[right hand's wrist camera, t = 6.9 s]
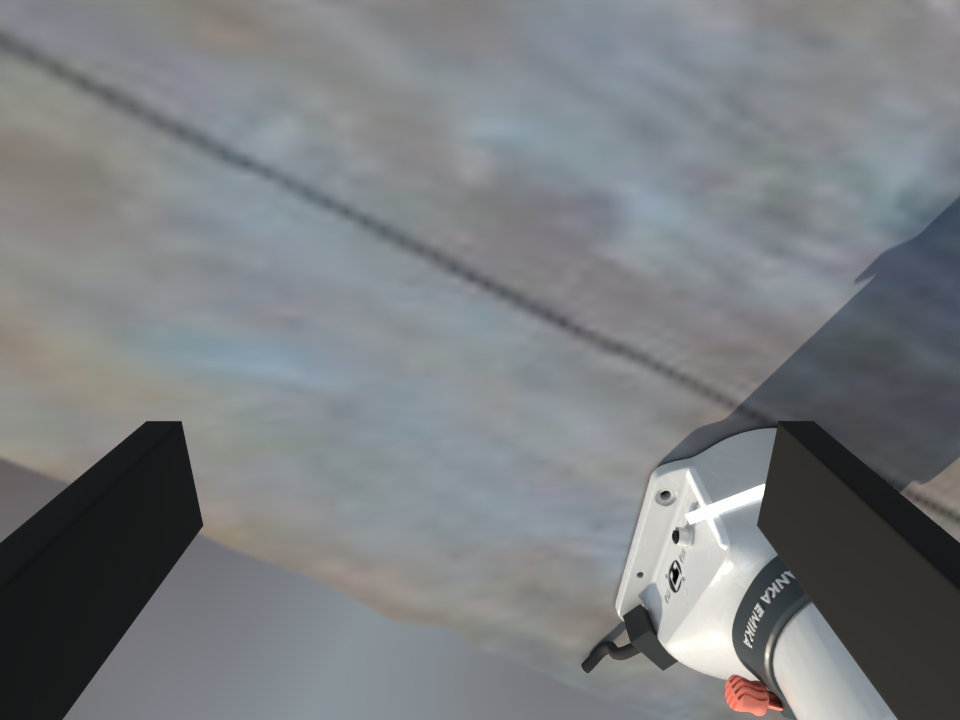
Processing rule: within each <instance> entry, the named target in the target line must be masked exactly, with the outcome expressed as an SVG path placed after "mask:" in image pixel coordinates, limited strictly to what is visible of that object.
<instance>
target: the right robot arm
mask: <svg viewBox="0 0 960 720" xmlns="http://www.w3.org/2000/svg"><path fill="white" fill-rule="evenodd" d="M202 527H203V522H202V517H201V512H200V508H199V503H198V498H197V493H196V488H195V484H194V479H193V474H192V469H191V464H190V460H189V455H188V450H187V445H186V441H185V436H184V431H183V426H182V421H146V422H145V423H144V424H143V425H142V426H140V427H139V428H138V429H137V430H136V431H134V432H133V433H132V434H131V435H130V436H128V437H127V438H126V439H125V440H124V441H122V442H121V443H120V444H119V445H118V446H116V447H115V448H114V449H113V450H112V451H110V452H109V453H108V454H107V455H106V456H104V457H103V458H102V459H101V460H100V461H98V462H97V463H96V464H95V465H94V466H92V467H91V468H90V469H89V470H87V471H86V472H85V473H84V474H83V475H81V476H80V477H79V478H78V479H77V480H75V481H74V482H73V483H72V484H71V485H69V486H68V487H67V488H66V489H65V490H64V491H62V492H61V493H60V494H59V495H57V496H56V497H55V498H54V499H53V500H51V501H50V502H49V503H48V504H47V505H45V506H44V507H43V508H42V509H41V510H39V511H38V512H37V513H36V514H35V515H33V516H32V517H31V518H30V519H29V520H27V521H26V522H25V523H24V524H23V525H21V526H20V527H19V528H18V529H17V530H15V531H14V532H13V533H12V534H11V535H9V536H8V537H7V538H6V539H5V540H3V541H2V542H1V543H0V720H62V719H63V718H64V717H65V715H66V714H67V713H68V711H69V710H70V708H71V707H72V706H73V704H74V703H75V702H76V700H77V699H78V697H79V696H80V695H81V693H82V692H83V691H84V689H85V688H86V686H87V685H88V684H89V682H90V681H91V680H92V678H93V677H94V675H95V674H96V673H97V671H98V670H99V668H100V667H101V666H102V664H103V663H104V662H105V660H106V659H107V657H108V656H109V655H110V653H111V652H112V651H113V649H114V648H115V646H116V645H117V644H118V642H119V641H120V640H121V638H122V637H123V635H124V634H125V633H126V631H127V630H128V628H129V627H130V626H131V624H132V623H133V622H134V620H135V619H136V617H137V616H138V615H139V613H140V612H141V611H142V609H143V608H144V606H145V605H146V604H147V602H148V601H149V600H150V598H151V597H152V595H153V594H154V593H155V591H156V590H157V588H158V587H159V586H160V584H161V583H162V582H163V580H164V579H165V578H166V576H167V575H168V573H169V572H170V571H171V569H172V568H173V566H174V565H175V564H176V562H177V561H178V559H179V558H180V557H181V555H182V554H183V553H184V551H185V550H186V549H187V547H188V546H189V544H190V543H191V542H192V540H193V539H194V538H195V536H196V535H197V533H198V532H199V531H200V529H201V528H202ZM757 527H758V528H759V529H760V531H761V532H762V533H763V535H764V536H765V538H766V539H767V540H768V542H769V543H770V544H771V546H772V547H773V549H774V550H775V551H776V553H777V554H778V555H779V557H780V558H781V560H782V561H783V562H784V564H785V565H786V566H787V568H788V569H789V571H790V572H791V573H792V575H793V576H794V578H795V579H796V580H797V582H798V583H799V584H800V586H801V587H802V589H803V590H804V591H805V593H806V594H807V595H808V597H809V598H810V600H811V601H812V602H813V604H814V605H815V606H816V608H817V609H818V611H819V612H820V613H821V615H822V616H823V618H824V619H825V620H826V622H827V623H828V624H829V626H830V627H831V629H832V630H833V631H834V633H835V634H836V635H837V637H838V638H839V640H840V641H841V642H842V644H843V645H844V646H845V648H846V649H847V651H848V652H849V653H850V655H851V656H852V657H853V659H854V660H855V662H856V663H857V664H858V666H859V667H860V669H861V670H862V671H863V673H864V674H865V675H866V677H867V678H868V680H869V681H870V682H871V684H872V685H873V686H874V688H875V689H876V691H877V692H878V693H879V695H880V696H881V697H882V699H883V700H884V702H885V703H886V704H887V706H888V707H889V708H890V710H891V711H892V713H893V714H894V715H895V717H896V718H897V720H960V543H959V542H958V541H957V540H955V539H954V538H953V537H952V536H951V535H949V534H948V533H947V532H946V531H945V530H943V529H942V528H941V527H940V526H939V525H937V524H936V523H935V522H934V521H933V520H931V519H930V518H929V517H928V516H927V515H925V514H924V513H923V512H922V511H921V510H919V509H918V508H917V507H916V506H915V505H913V504H912V503H911V502H910V501H909V500H907V499H906V498H905V497H904V496H903V495H901V494H900V493H899V492H898V491H897V490H895V489H894V488H893V487H892V486H891V485H889V484H888V483H887V482H886V481H885V480H883V479H882V478H881V477H880V476H879V475H877V474H876V473H875V472H874V471H872V470H871V469H870V468H869V467H868V466H866V465H865V464H864V463H863V462H862V461H860V460H859V459H858V458H857V457H856V456H854V455H853V454H852V453H851V452H850V451H848V450H847V449H846V448H845V447H844V446H842V445H841V444H840V443H839V442H838V441H836V440H835V439H834V438H833V437H832V436H830V435H829V434H828V433H827V432H826V431H824V430H823V429H822V428H821V427H820V426H818V425H817V424H816V423H815V422H814V421H778V426H777V431H776V436H775V441H774V445H773V450H772V455H771V460H770V464H769V469H768V474H767V479H766V484H765V488H764V493H763V498H762V503H761V508H760V512H759V517H758V522H757Z"/></svg>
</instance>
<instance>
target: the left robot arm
mask: <svg viewBox="0 0 960 720" xmlns="http://www.w3.org/2000/svg"><path fill="white" fill-rule="evenodd" d="M776 431H777V428H764V429H757V430H751V431H747V432H743V433H740V434H737V435H734V436H732V437H729V438H727V439H725V440H723V441H721V442H719V443H717V444H715V445H713V446H712V447H710V448H708V449H707V450H705V451H704V452H702V453H700V454H698V455H696V456H694V457H692V458H687V459H682V460H678V461H673V462H670V463H666V464H663V465H661V466H659V467H658V468H656V469H655V470H654V471H653V473H652V475H651V477H650V481H649V484H648V488H647V491H646V495H645V498H644V502H643V506H642V509H641V513H640V516H639V520H638V524H637V527H636V531H635V534H634V538H633V541H632V545H631V549H630V552H629V556H628V559H627V563H626V567H625V570H624V574H623V577H622V581H621V584H620V588H619V592H618V595H617V599H616V604H615V608H616V610H617V613H618V615H619V617H620V618H621V619H622V620H623V621H624V622H625V626H626V629H627V632H628V636H629V639H630V642H631V643H629V644H627V645H625V646H623V647H619V648H618V647H617V646H616V645H615V643H613V642H610V641H607V642H604V643H602V644H601V645H599V646H598V647H597V648H596V649H595V650H594V651H593V652H592V653H591V654H590V656H589V657H588V658H587V659H586V660H585V661H584V662H583V663H582V664H581V665H582V668H583V670H584V671H585V672H586V673H589V672H590V671H591V670H592V669H593V668H594V667H595V666H596V665H597V664H598V663H599V661H600V660H601V659H602V658H603V657H604V656H605V655H607V654H609V655H610V656H611V657H612V658H613V659H616V660H624V659H628V658H630V657H632V656H634V655H636V654H638V653H640V652H642V653H643V654H644V655H645V656H646V657H648V658H649V659H650V660H651V661H652V662H653V663H654V664H656V665H657V666H658V667H659V668H660V669H661V670H663V671H664V670H665V669H667V668H668V667H670V666H671V665H673V664H674V663H676V662H678V661H679V662H681V663H683V664H684V665H686V666H688V667H690V668H692V669H694V670H697V671H699V672H702V673H704V674H707V675H710V676H714V677H717V678H721V679H725V680H727V682H726V686H725V690H726V693H725V696H726V698H728V699H727V703H728V704H730V707H731V708H732V709H734V710H736V711H741V712H751V713H753V714H755V715H756V716H762V715H764V714H765V713H766V712H767V710H768V708H771V709H775V710H779V711H780V712H781V713H782V715H783V716H784V717H787V718H790V719H794V720H897V718H896V717H895V715H894V714H893V713H892V711H891V710H890V708H889V707H888V706H887V704H886V703H885V702H884V700H883V699H882V697H881V696H880V695H879V693H878V692H877V691H876V689H875V688H874V686H873V685H872V684H871V682H870V681H869V680H868V678H867V677H866V675H865V674H864V673H863V671H862V670H861V669H860V667H859V666H858V664H857V663H856V662H855V660H854V659H853V657H852V656H851V655H850V653H849V652H848V651H847V649H846V648H845V646H844V645H843V644H842V642H841V641H840V640H839V638H838V637H837V635H836V634H835V633H834V631H833V630H832V629H831V627H830V626H829V624H828V623H827V622H826V620H825V619H824V618H823V616H822V615H821V613H820V612H819V611H818V609H817V608H816V606H815V605H814V604H813V602H812V601H811V600H810V598H809V597H808V595H807V594H806V593H805V591H804V590H803V589H802V587H801V586H800V584H799V583H798V582H797V580H796V579H795V578H794V576H793V575H792V573H791V572H790V571H789V569H788V568H787V566H786V565H785V564H784V562H783V561H782V560H781V558H780V557H779V555H778V554H777V553H776V551H775V550H774V549H773V547H772V546H771V544H770V543H769V542H768V540H767V539H766V538H765V536H764V535H763V533H762V532H761V531H760V529H759V528H758V527H757V522H758V517H759V512H760V508H761V503H762V498H763V493H764V488H765V484H766V479H767V474H768V469H769V464H770V460H771V455H772V450H773V445H774V441H775V436H776ZM663 491H668V492H667V493H666V494H664V495H660V494H661V493H662V492H663ZM765 686H766V687H767V688H768V689H769V691H767V688H766V687H765Z"/></svg>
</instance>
